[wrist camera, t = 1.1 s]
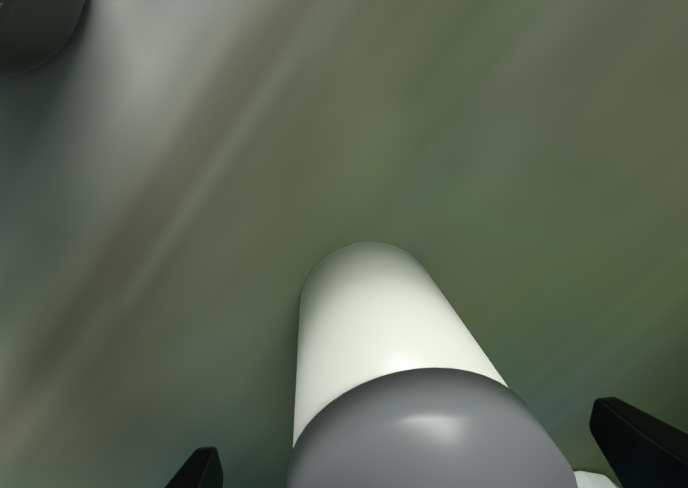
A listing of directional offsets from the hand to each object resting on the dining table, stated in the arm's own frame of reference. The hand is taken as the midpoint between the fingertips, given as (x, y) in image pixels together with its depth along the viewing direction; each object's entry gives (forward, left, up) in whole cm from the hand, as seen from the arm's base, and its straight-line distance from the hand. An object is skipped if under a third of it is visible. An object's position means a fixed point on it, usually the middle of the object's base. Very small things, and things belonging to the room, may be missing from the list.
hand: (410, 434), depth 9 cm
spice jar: (0, 0, -6) cm, 6 cm away
